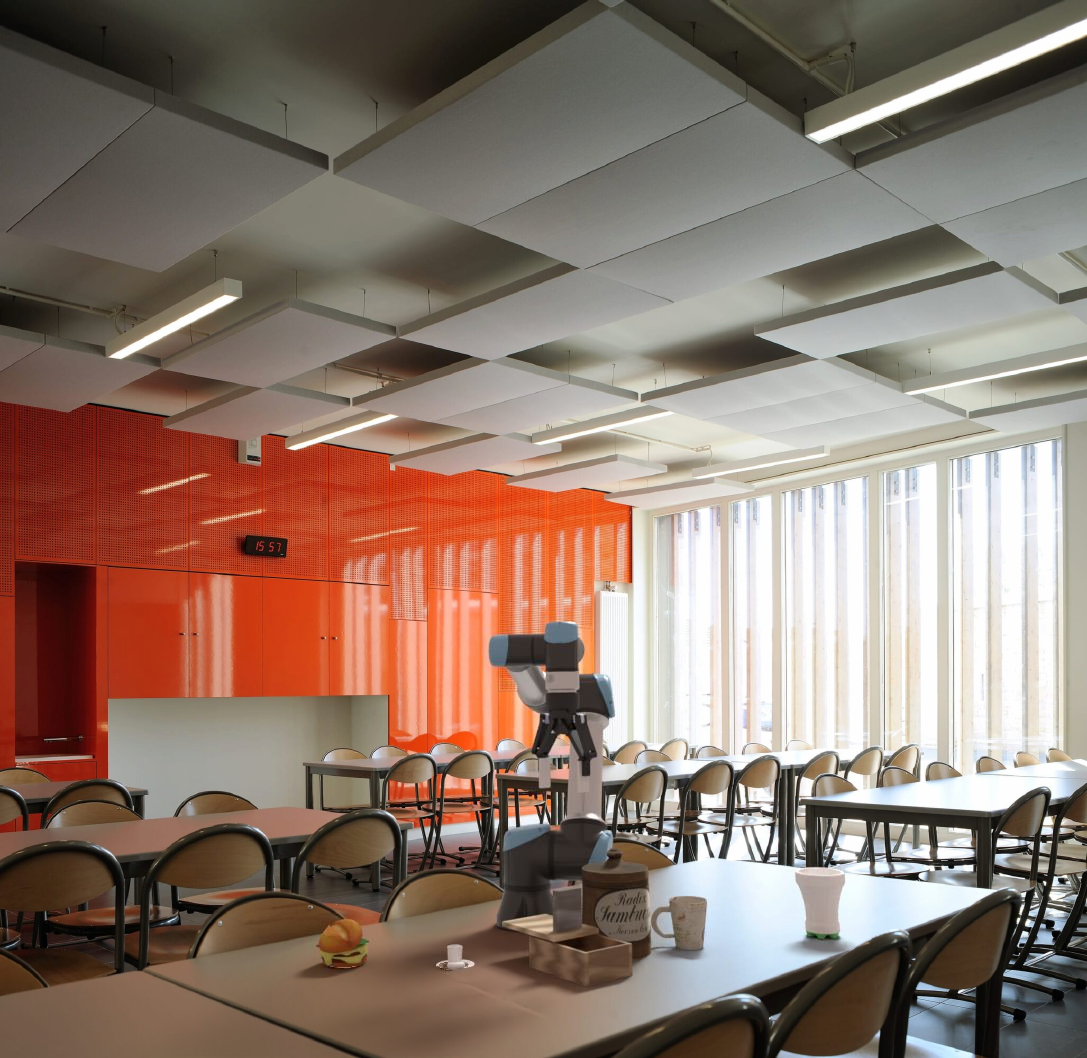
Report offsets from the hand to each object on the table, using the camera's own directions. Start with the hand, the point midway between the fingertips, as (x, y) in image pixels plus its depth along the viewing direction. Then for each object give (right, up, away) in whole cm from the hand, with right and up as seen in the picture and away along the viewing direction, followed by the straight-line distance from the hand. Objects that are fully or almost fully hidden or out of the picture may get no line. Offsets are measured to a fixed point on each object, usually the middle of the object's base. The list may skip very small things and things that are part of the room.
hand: (563, 790), depth 222 cm
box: (+3, -32, -18) cm, 37 cm away
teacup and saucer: (-25, -34, -12) cm, 44 cm away
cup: (+60, -36, +11) cm, 71 cm away
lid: (-3, -27, -10) cm, 29 cm away
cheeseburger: (-46, -35, -9) cm, 58 cm away
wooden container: (+11, -35, -3) cm, 37 cm away
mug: (+26, -35, +2) cm, 44 cm away
